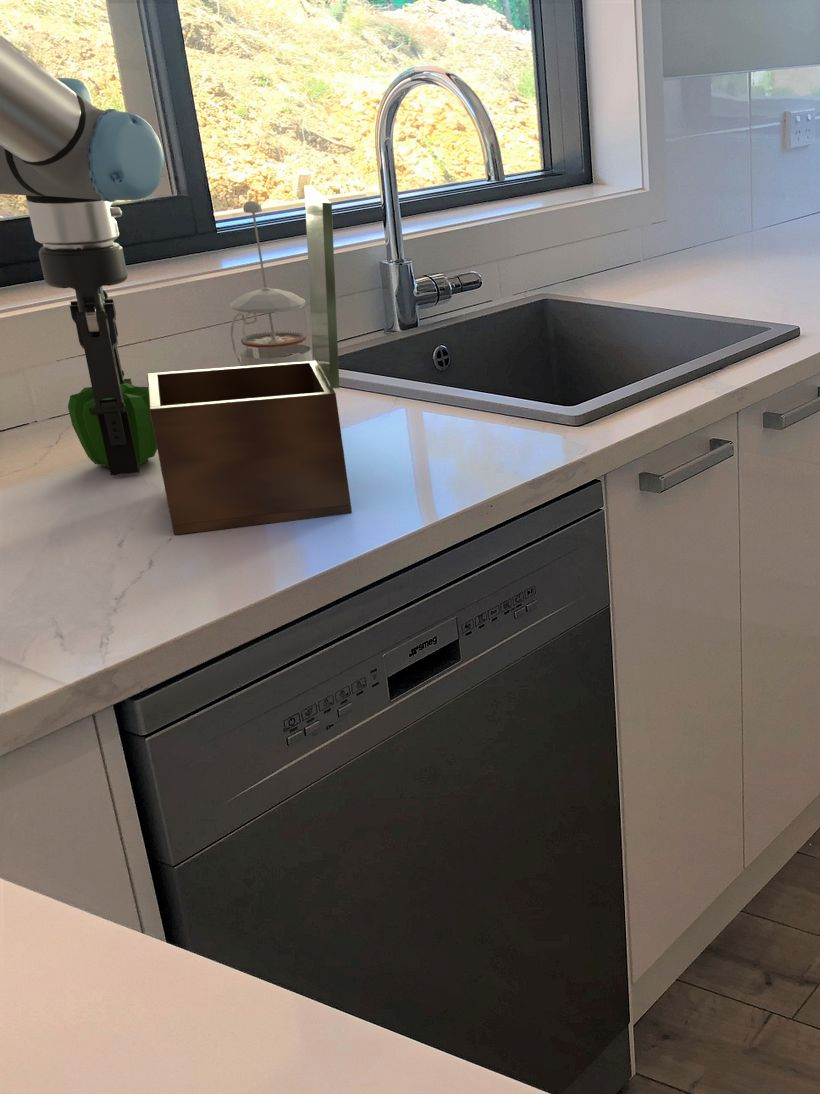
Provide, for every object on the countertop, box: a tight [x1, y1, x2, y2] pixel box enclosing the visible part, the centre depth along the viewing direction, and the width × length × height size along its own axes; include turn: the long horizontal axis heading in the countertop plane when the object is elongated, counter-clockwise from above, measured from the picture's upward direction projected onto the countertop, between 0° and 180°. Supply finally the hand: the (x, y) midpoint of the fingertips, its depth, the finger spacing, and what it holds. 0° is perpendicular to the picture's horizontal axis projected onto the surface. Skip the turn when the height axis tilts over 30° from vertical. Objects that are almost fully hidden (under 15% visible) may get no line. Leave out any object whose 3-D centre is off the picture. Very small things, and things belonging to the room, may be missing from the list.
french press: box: [229, 200, 314, 366], centre depth 161 cm, size 10×12×25 cm
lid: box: [304, 184, 340, 389], centre depth 133 cm, size 17×15×1 cm
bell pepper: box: [67, 383, 158, 468], centre depth 147 cm, size 8×8×10 cm
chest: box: [146, 360, 353, 536], centre depth 136 cm, size 16×15×12 cm
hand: (124, 461), depth 149 cm, fingers closed on bell pepper, 8 cm apart
